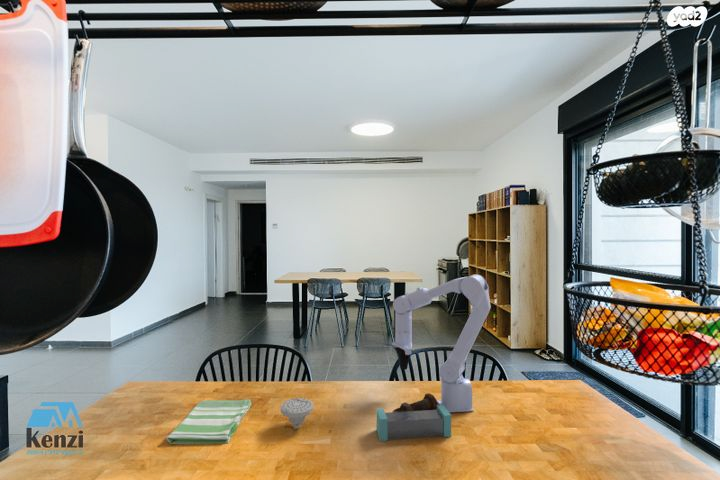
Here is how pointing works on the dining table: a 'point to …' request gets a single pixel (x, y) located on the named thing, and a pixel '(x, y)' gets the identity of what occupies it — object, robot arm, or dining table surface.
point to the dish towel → (210, 422)
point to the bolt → (419, 404)
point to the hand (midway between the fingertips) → (403, 368)
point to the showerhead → (297, 410)
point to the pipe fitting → (413, 424)
